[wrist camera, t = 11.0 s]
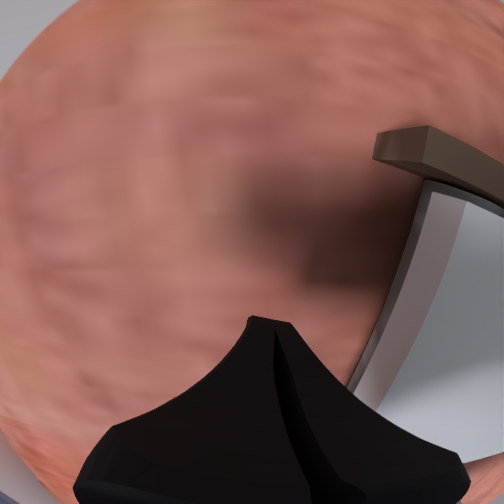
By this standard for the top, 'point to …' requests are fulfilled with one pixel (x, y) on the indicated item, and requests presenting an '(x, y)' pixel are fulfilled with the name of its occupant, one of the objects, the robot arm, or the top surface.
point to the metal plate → (447, 336)
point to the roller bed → (442, 181)
